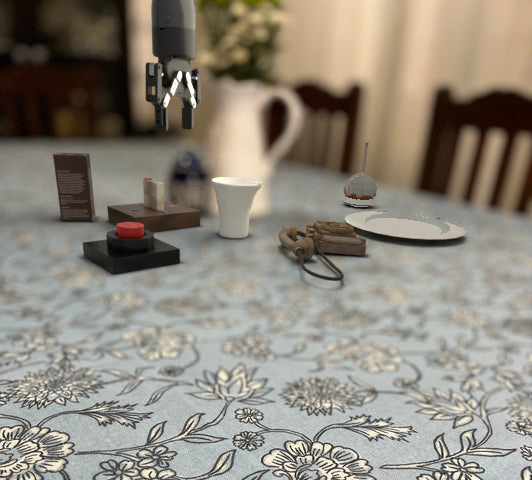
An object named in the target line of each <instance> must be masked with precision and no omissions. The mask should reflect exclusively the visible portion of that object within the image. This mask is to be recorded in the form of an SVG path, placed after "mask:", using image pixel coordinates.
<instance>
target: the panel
mask: <svg viewBox="0 0 532 480" xmlns="http://www.w3.org/2000/svg"><path fill="white" fill-rule="evenodd" d="M170 201H171V200H164V210H161V211H156V210H154V209H151V208H148V207H146V206H144V202H139V203H137V202H136V203H127V204H126V203H125V204H116V205H107V206H106V208H107V220H108V223H111V224H113V225H114V226H116V224H118V223H122V222H138V223H141V224H143V225H144V230H149V231H151V232H153V233H157V232H167V231H173V230H181V229H188V228H196V227H201V210H200V209H196V208H193V207H190V206H187V205H185V204H181V203H178V204H173V203H171V202H170ZM180 204H181V205H180Z"/></svg>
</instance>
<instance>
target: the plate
mask: <svg viewBox="0 0 532 480" xmlns="http://www.w3.org/2000/svg"><path fill="white" fill-rule="evenodd" d="M377 211H378V210H368V211H367V210H366V211H365V210H364V211H358V212H357V211H356V212H352V213H350V214H347V215H345V218H344V222H345V224H347V225H351V226H352V227H353V229H356V230H359V231H362V232H365V233H368V234H371V235H374V236H376V237H377V236H378V237H381V238H387V239H391V240H397V241H406V242H418V243H419V242H420V243H421V242H426V243H427V242H440V241H441V242H445V241H453V240H452V239H454V240H457V238H458V239H460V238H459V237H461V238H463V237H462V236H464V235H465V233H466V232H467V230H466V231H465V229H466V228H465V227H463V226H462V227H463V228H462V227H458V226H456V225H454V224H450V223H447V222H444V223H446V224H448V225H449V226H450V231H448V232H447V233H443V234H440V233H441V232H442V229H440V228H439V227H437V226H435V225H432V224H428V223H424V222H420V221H414V220H408V219H397V218H377V219H371V220H369V221H367V223H366V222H365V219H366V218H367V217H370V216H371V215H375V214H382V213H385V212H377ZM416 216H417V215H416ZM422 217H424V216H422ZM426 218H428V217H426ZM464 228H465V229H464ZM465 236H466V235H465ZM465 236H464V237H465ZM444 240H445V241H444Z"/></svg>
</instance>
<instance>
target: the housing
mask: <svg viewBox="0 0 532 480" xmlns="http://www.w3.org/2000/svg"><path fill="white" fill-rule="evenodd" d="M105 237H106V239H100V240H99V239H98V240H91V241H85V242H84V241H83V242H82V250H83V257H84V258H86V259H87V260H89V261H90V262H92V263H94V264H96V265H98V266H99V267H101V268H103V269H105V271H108V272H110V273H111V274H113V275H116V274H123V273H129V272H134V271H139V270H140V271H141V270H147V269H150V268H151V269H152V268H158V267H163V266H168V265H176V264H180V263H181V248H179V247H177V246H174V245H173V244H170V243H167V242H165V241H163V240H161V239H158V238H156V237H155V232H151V231H149V230H144V236H143V237H136V238H124V237H118V236H117V230H116V228H115V229H112V230H110V231H109V230H108V231H107V232H106V235H105Z"/></svg>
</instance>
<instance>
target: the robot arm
mask: <svg viewBox="0 0 532 480" xmlns="http://www.w3.org/2000/svg"><path fill="white" fill-rule="evenodd" d="M196 5H197V4H196V0H151V5H150V6H151V7H150V14H151V15H150V17H151V18H150V19H151V43H152V44H151V45H152V46H151V52H152V55H153V57H155V58H157V59H158V61H157V62H153V61H152V62H151V61H149V62H146V63H145V102H146V103H150V104H152V106H153V107H154V124H155V130H156V131H159V132H160V131H161V132H168V131H169V108H168V106H169V103H170V100H171V99H172V98H173V97H174V96H176V97H178V98H179V101H180V103H181V106H182V107H181V129H183V130H187V131H188V130H189V131H190V130H191V131H192V130H193V129H194V125H195V108H196V107H197V105H201V103H202V80H201V77H202V76H201V69H200V68H196V67H191V61H194V60H196V58H197V6H196ZM153 91H154V94H153ZM194 94H195V95H194Z"/></svg>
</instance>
